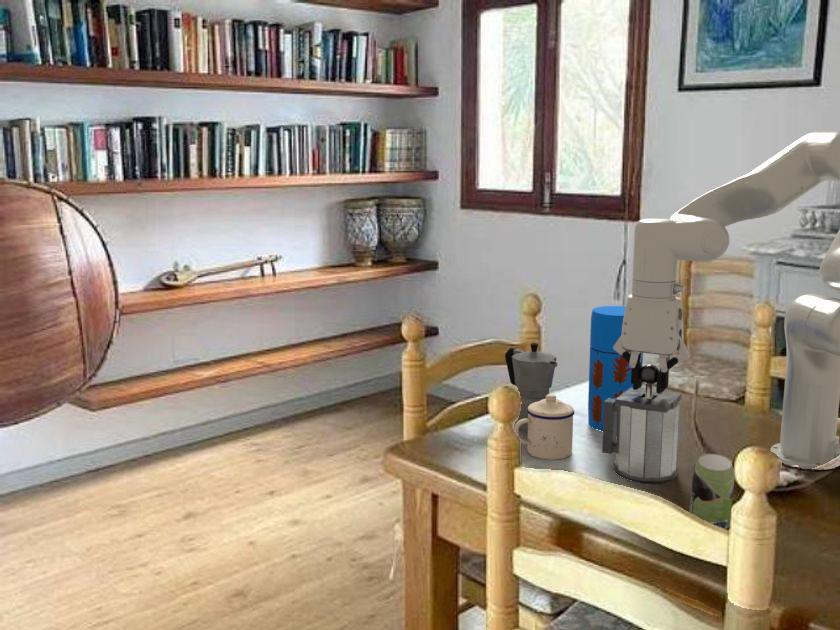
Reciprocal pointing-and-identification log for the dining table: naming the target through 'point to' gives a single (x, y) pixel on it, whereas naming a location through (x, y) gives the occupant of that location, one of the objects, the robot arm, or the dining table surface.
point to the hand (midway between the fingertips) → (649, 388)
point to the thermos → (606, 362)
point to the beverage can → (712, 489)
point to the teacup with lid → (548, 428)
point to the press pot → (642, 435)
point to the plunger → (649, 378)
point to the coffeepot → (530, 376)
